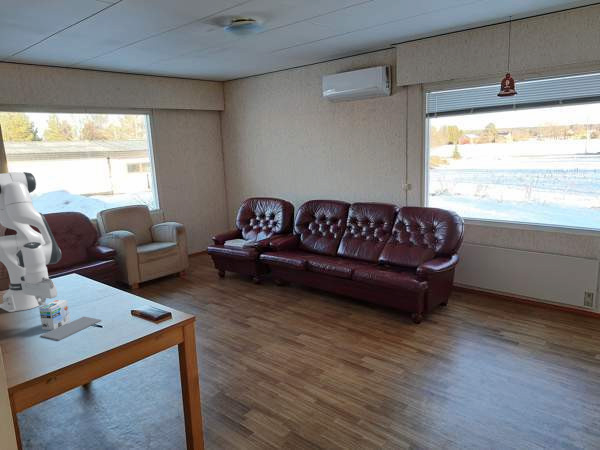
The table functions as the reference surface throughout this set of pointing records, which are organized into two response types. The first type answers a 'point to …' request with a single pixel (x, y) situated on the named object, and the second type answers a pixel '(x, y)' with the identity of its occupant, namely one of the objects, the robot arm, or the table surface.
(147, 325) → the table surface
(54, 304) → the light bulb box
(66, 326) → the pad
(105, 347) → the table surface
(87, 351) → the table surface
